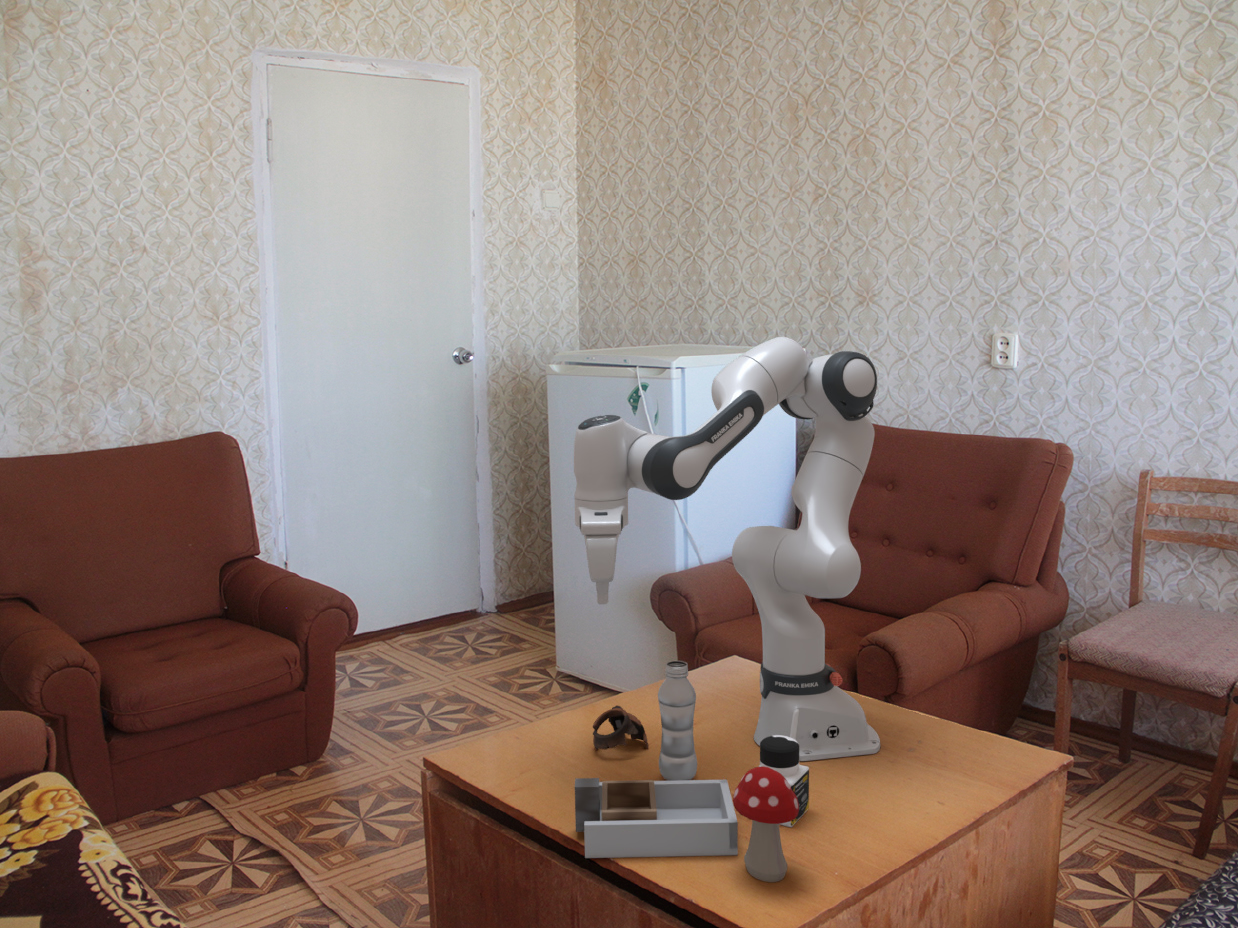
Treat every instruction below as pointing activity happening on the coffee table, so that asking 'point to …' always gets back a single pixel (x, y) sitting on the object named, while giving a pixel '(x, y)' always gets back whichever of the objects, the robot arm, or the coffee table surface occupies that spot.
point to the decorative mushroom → (765, 820)
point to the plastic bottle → (677, 724)
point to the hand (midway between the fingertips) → (603, 595)
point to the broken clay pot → (618, 729)
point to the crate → (614, 801)
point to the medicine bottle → (787, 768)
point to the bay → (671, 824)
